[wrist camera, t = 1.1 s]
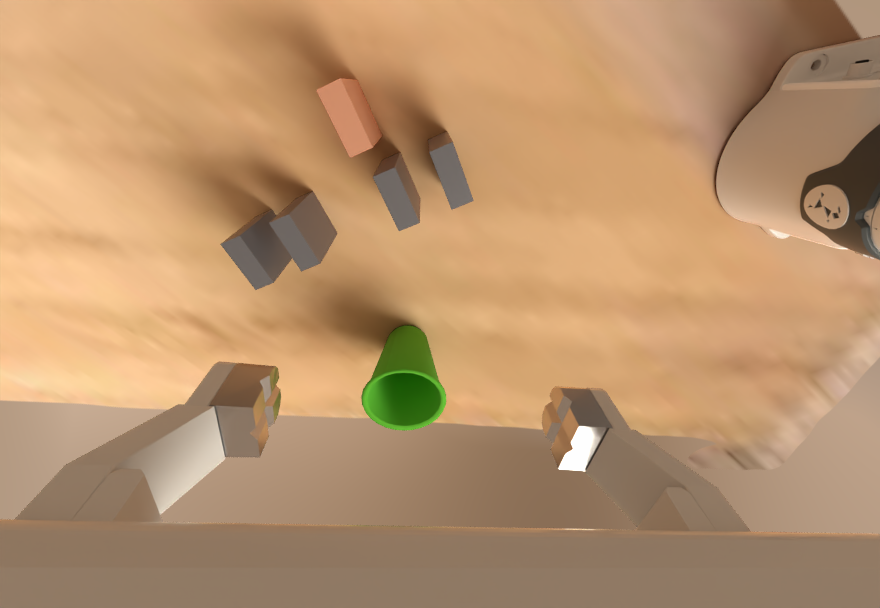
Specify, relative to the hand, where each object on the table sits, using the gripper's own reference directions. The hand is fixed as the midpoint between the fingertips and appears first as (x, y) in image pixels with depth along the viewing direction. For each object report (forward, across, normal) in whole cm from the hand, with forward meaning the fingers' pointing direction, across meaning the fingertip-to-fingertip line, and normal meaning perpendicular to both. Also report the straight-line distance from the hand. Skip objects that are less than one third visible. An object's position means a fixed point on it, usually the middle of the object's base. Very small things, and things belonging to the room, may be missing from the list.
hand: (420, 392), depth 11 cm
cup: (+32, -2, +21) cm, 38 cm away
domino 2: (+31, +10, +5) cm, 33 cm away
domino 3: (+31, +6, -5) cm, 32 cm away
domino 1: (+31, +14, +8) cm, 35 cm away
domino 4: (+31, +1, 0) cm, 31 cm away
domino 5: (+31, -3, -2) cm, 31 cm away
